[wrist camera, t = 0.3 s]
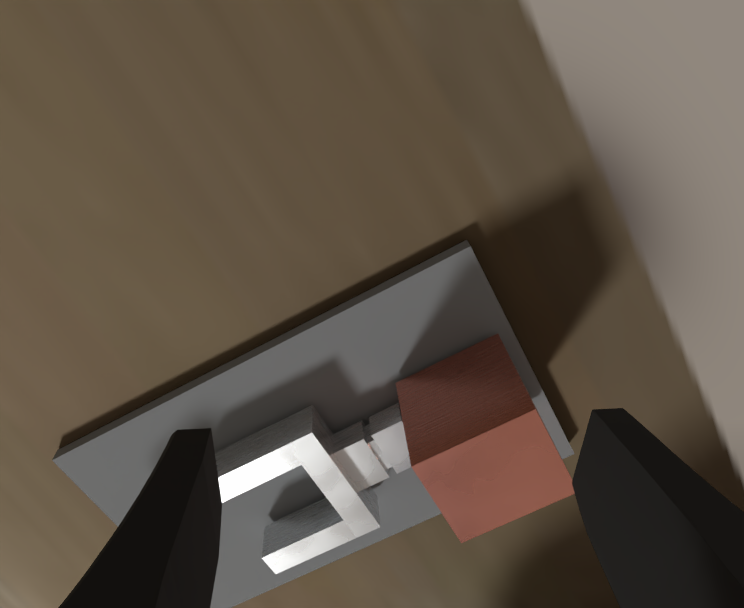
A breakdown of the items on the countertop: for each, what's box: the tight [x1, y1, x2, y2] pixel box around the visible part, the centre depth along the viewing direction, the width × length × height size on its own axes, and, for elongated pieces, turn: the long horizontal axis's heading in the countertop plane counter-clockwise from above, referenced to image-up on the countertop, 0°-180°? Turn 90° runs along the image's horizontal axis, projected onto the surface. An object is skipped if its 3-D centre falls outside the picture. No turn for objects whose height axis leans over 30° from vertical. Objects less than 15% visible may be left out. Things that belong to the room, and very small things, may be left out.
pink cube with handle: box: [215, 333, 575, 574], centre depth 23 cm, size 12×5×4 cm, turn 118°
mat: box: [52, 240, 574, 608], centre depth 26 cm, size 17×10×1 cm, turn 118°
